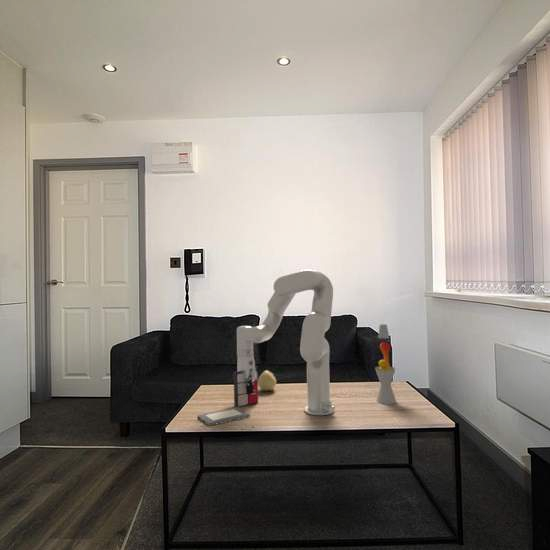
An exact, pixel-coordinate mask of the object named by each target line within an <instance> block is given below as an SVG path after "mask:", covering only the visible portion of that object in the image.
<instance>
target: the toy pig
mask: <svg viewBox="0 0 550 550" xmlns="http://www.w3.org/2000/svg"><path fill="white" fill-rule="evenodd" d="M276 385H277V379H276V375H275V373H273V372H271V371H270V370H268V369H267V370H264V371H263V372H262V373H261V374H260V376H258V388H259V390H260V391H274V389H275V387H276Z"/></svg>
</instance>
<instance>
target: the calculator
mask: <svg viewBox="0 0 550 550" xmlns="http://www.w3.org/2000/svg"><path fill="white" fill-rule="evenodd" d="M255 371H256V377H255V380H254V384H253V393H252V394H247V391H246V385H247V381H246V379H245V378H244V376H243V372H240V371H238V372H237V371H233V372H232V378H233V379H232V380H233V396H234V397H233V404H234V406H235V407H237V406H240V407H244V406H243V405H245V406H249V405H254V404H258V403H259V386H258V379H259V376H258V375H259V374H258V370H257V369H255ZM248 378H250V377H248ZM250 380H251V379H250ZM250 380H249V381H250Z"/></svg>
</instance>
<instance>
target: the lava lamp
mask: <svg viewBox="0 0 550 550" xmlns="http://www.w3.org/2000/svg"><path fill="white" fill-rule="evenodd" d="M378 328H379V329H378V337H377V338H378V339H389V338H390V335H389V330H388V325H387V324H385V323H380V324H379V327H378ZM390 348H391V347H390V344H389V343H388V342H386V341H383V342H381V343H380V345H379V349H380V351H381V353H382V355H383V359H380V360H379V361H378V366H375V367H374V369H375V372H376V376H377V378H378V380H379V383H380V386H379V390H378V392H377V393H378V395H377V398H376V403H378V404H382V403H384V404H383V405H394V404H396V403H397V399H396V397H395V393H394V391H393V388H392V381H393V379H394V375H395V372H396V368H395V367H393V366H390V365H391V364H390V362H389V353H390ZM393 403H394V404H393Z"/></svg>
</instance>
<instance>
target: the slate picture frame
mask: <svg viewBox="0 0 550 550" xmlns="http://www.w3.org/2000/svg"><path fill="white" fill-rule="evenodd" d="M248 416H250V417H251V413H249V412H247V411H245V410H243V409H241V407H237V406H235V407H230V408H225V409H221V410H216V411H212V412H207V413H203V414H197V418H198V417H199V418H200V419H202V420H203V421H204V422H206V423H207V424H208V425H212V424H216V423H220V424H222V423H221V422H225V421H229V420H233V421H235V420H234V419H237V420H239V419H238V418H242V419H244V418H243V417H246V418H249V417H248ZM199 418H198V419H199ZM200 419H199V420H200ZM202 420H201V421H202ZM203 421H202V422H203ZM204 422H203V423H204ZM229 422H230V421H229ZM206 423H205V424H206ZM225 423H226V422H225ZM207 424H206V425H207ZM208 425H207V426H208ZM216 425H217V424H216ZM212 426H213V425H212Z"/></svg>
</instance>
